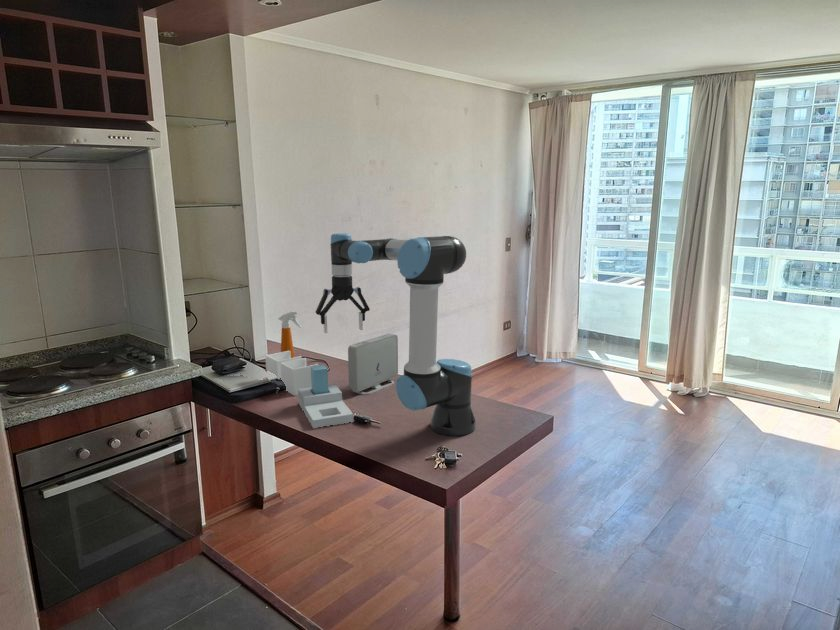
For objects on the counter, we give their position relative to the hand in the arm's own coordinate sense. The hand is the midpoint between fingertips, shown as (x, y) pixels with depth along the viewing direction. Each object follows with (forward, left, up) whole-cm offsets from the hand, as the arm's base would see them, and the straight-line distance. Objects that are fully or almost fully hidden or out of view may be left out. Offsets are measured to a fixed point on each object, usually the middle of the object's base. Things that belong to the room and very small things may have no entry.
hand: (343, 330), depth 214 cm
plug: (-7, +11, -23) cm, 27 cm away
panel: (-14, +11, -26) cm, 32 cm away
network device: (+5, -14, -26) cm, 30 cm away
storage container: (+21, +16, -27) cm, 38 cm away
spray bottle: (+43, +12, -26) cm, 52 cm away
